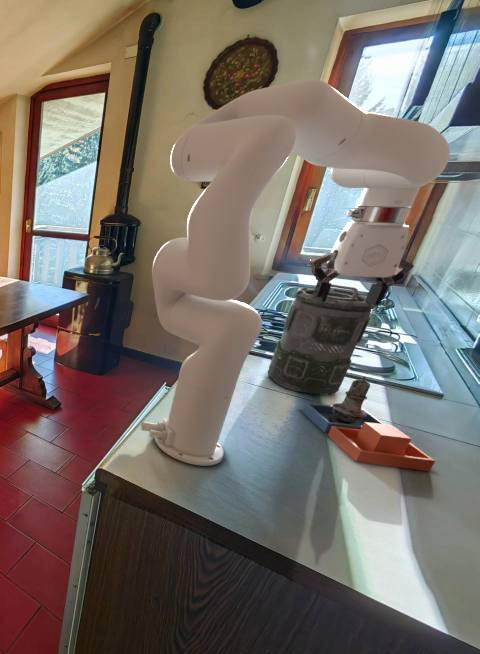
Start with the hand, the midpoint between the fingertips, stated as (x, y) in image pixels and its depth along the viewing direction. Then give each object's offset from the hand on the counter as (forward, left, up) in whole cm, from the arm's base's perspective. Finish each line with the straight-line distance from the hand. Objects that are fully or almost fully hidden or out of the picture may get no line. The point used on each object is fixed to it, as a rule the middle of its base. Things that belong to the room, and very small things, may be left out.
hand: (344, 301), depth 82 cm
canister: (+10, +20, -28) cm, 36 cm away
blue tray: (+8, -2, -28) cm, 29 cm away
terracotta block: (+8, -12, -28) cm, 31 cm away
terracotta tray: (+8, -12, -28) cm, 32 cm away
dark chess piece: (+8, -2, -28) cm, 29 cm away
